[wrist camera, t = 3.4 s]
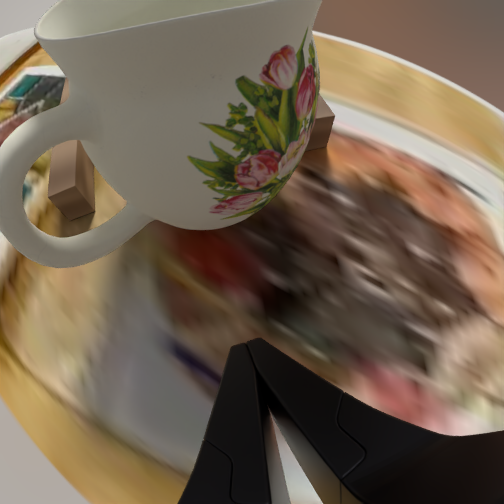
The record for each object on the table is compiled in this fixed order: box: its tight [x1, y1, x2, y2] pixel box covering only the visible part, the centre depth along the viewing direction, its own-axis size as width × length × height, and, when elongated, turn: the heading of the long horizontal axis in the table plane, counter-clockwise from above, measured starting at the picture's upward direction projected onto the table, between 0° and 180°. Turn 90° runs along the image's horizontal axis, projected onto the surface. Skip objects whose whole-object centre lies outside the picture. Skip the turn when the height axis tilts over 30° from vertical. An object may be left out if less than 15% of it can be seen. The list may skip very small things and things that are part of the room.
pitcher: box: [0, 0, 322, 268], centre depth 12 cm, size 11×18×14 cm, turn 142°
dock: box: [48, 77, 335, 221], centre depth 20 cm, size 17×18×4 cm
